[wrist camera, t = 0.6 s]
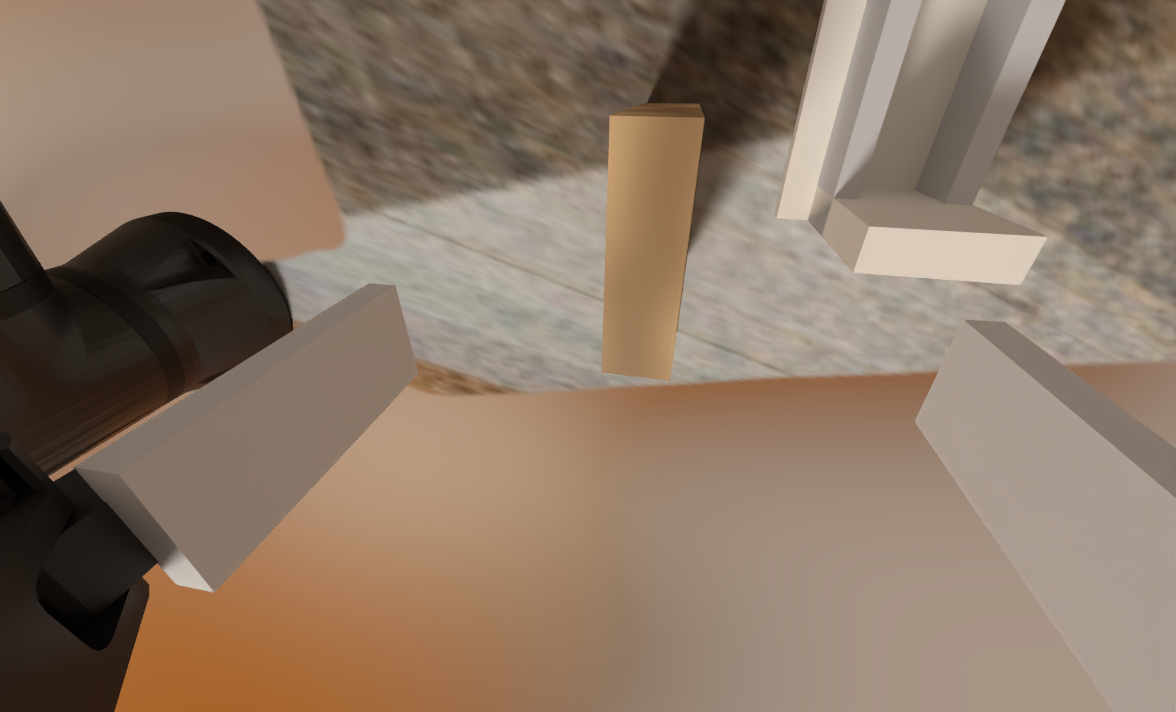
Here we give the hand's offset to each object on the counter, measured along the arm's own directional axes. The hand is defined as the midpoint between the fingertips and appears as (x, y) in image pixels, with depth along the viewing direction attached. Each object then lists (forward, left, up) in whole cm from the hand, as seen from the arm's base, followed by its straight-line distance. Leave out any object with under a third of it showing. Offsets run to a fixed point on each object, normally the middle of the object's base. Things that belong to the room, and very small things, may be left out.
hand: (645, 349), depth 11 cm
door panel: (-1, 0, -21) cm, 21 cm away
